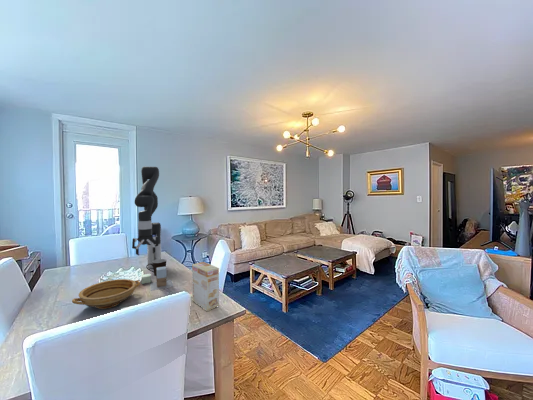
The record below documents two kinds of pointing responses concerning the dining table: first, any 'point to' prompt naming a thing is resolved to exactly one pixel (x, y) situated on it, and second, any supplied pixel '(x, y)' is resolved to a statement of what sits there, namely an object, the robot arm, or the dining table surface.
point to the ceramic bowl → (106, 293)
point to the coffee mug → (157, 265)
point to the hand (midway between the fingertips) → (145, 254)
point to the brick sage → (146, 278)
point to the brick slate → (161, 272)
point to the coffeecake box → (205, 285)
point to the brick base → (161, 282)
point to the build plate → (154, 286)
